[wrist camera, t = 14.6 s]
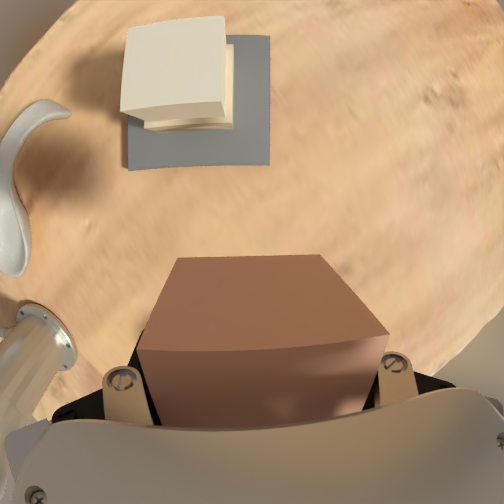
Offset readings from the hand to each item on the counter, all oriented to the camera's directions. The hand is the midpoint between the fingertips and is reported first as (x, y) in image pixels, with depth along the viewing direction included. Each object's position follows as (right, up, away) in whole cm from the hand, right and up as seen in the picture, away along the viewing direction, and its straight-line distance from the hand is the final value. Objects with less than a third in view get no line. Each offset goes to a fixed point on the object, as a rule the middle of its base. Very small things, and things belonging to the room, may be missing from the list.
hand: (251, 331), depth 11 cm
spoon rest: (-29, +11, +14) cm, 34 cm away
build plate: (-5, +19, +12) cm, 23 cm away
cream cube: (-5, +16, +6) cm, 18 cm away
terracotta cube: (0, 0, +1) cm, 1 cm away
